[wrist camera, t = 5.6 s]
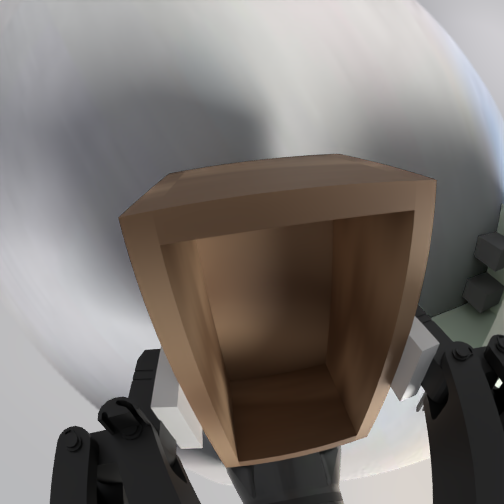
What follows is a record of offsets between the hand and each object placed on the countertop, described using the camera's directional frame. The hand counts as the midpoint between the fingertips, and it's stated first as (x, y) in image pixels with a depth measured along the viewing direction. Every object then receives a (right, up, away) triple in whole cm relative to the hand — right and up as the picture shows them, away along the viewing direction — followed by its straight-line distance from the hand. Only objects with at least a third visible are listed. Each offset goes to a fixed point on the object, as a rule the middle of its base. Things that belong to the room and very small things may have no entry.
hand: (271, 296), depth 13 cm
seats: (+21, +1, +6) cm, 22 cm away
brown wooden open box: (0, 0, 0) cm, 0 cm away
